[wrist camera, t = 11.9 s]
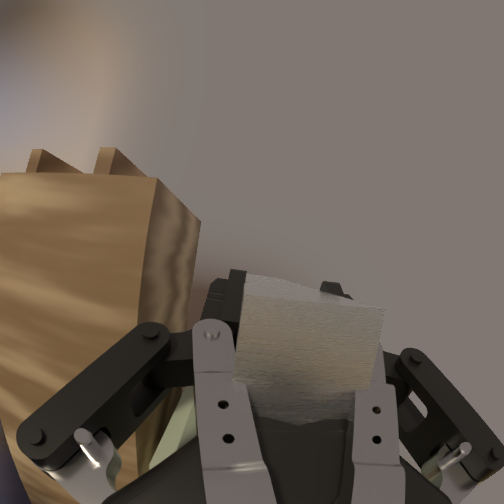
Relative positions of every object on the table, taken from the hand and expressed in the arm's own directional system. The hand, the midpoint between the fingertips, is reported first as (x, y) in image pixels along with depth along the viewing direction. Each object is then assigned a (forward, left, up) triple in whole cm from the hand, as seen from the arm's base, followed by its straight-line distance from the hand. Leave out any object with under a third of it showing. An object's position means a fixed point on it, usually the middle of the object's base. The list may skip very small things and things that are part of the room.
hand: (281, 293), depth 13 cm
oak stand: (-14, -6, -29) cm, 33 cm away
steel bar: (-4, +3, -3) cm, 6 cm away
